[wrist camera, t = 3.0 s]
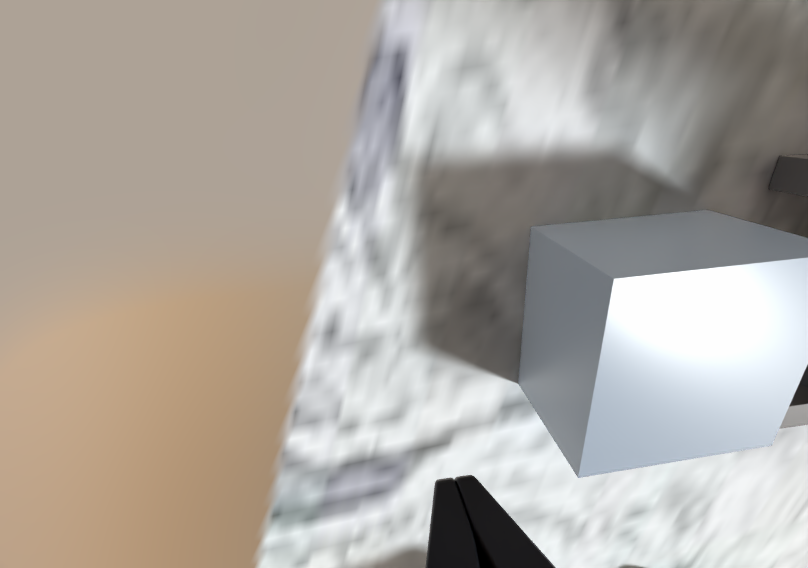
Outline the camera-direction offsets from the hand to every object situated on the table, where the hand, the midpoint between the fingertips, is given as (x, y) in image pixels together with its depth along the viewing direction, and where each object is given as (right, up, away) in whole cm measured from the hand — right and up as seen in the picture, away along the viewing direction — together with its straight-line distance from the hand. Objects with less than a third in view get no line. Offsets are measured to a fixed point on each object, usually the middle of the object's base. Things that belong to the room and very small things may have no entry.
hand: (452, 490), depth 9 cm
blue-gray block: (+7, +4, +8) cm, 11 cm away
